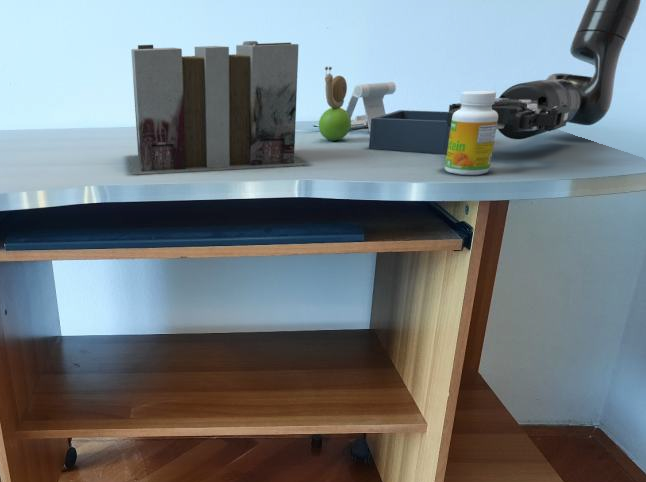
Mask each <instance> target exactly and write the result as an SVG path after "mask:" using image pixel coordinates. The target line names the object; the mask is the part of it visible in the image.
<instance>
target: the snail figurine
mask: <svg viewBox="0 0 646 482" xmlns="http://www.w3.org/2000/svg"><path fill="white" fill-rule="evenodd" d="M332 69H333V67H332V66H325V67H324V70H325V72H327V71H332ZM324 81H325V87H324V89H325V99H326V102H327V103H326V104H327V105H328V106H329V107H330V108H328V109H327V110H325V111H323V113H322V114H321V116H320V118H319V120H318V130H319V133H320V134H321V136H322V137H323V138H324V139H326V140H328V141H331V142H332V141H333V142H337V141H340V140H342V139H344V138H345V137H346V136H347V135H348V133H349V132H350V130H351V129H350V127H351V121H352V117H351V118H350V116H349V114H348V113H347V112H346V111H345V110H346V109H344V108H341V107H343V105H344V103H345V98H346V96H347V92H348V85H347V80H346V78H345V77H344V76H342V75H336V76H335V77H334V76H333V74H332V73H326V74H325V77H324Z"/></svg>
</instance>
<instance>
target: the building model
mask: <svg viewBox="0 0 646 482" xmlns="http://www.w3.org/2000/svg"><path fill="white" fill-rule="evenodd" d="M235 46H236V47H235V53H233V54H232V53H231V54H230V47H229V46H222V45H207V46H205V45H204V46H194V55H185V56H183V49H182V48H180V47H154V44H137V48H132V49H131V50H130V51H131V63H132V64H131V65H132V66H131V67H132V80H133V81H132V82H133V96H134V97H133V98H134V113H135V128H136V129H135V130H136V144H137V155H129V161H130V168H131V174H132V175H133V176H136V175H155V174H173V173H191V172H207V171H225V170H226V171H228V170H243V169H247V170H248V169H259V168H260V169H263V168H265V169H266V168H279V167H280V168H282V167H300V166H301V167H303V166H307V164H306V163H305V162H304V161H302V160H300V159H299V158H297V157H295V148H296V147H295V146H296V125H297V124H296V121H297V119H296V118H297V97H298V96H297V95H298V70H299V69H298V67H299V46H300V45H299V44H298V43H292V42H268V43H267V42H266V43H259V42H258V41H257V40H246V41H243V42H242V44H236V45H235Z"/></svg>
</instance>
